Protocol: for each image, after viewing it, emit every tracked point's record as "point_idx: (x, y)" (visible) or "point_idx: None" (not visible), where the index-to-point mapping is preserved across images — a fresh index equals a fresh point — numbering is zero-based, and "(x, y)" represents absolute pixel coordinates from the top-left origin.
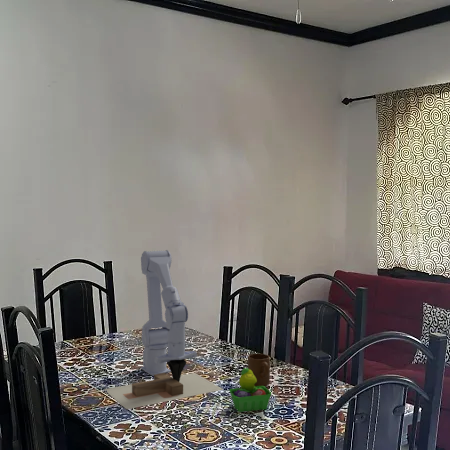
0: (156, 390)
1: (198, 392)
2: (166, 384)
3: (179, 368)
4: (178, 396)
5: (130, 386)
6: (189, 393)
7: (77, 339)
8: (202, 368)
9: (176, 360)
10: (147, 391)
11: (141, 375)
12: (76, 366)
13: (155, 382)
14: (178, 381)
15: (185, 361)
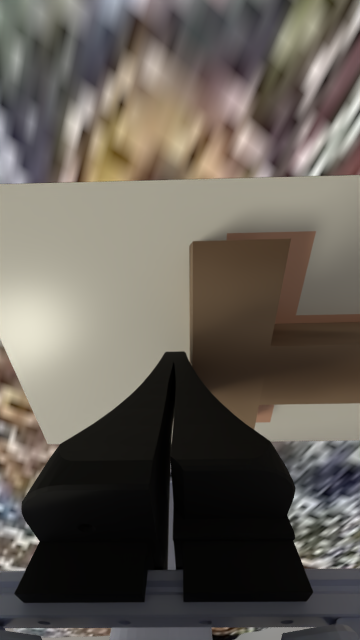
0: (303, 328)
1: (101, 218)
2: (268, 327)
3: (163, 410)
4: (233, 217)
5: (324, 427)
6: (156, 230)
7: (227, 632)
8: (9, 465)
9: (184, 570)
10: (357, 328)
11: None
12: (324, 566)
13: (317, 369)
14: (170, 352)
15: (34, 502)
